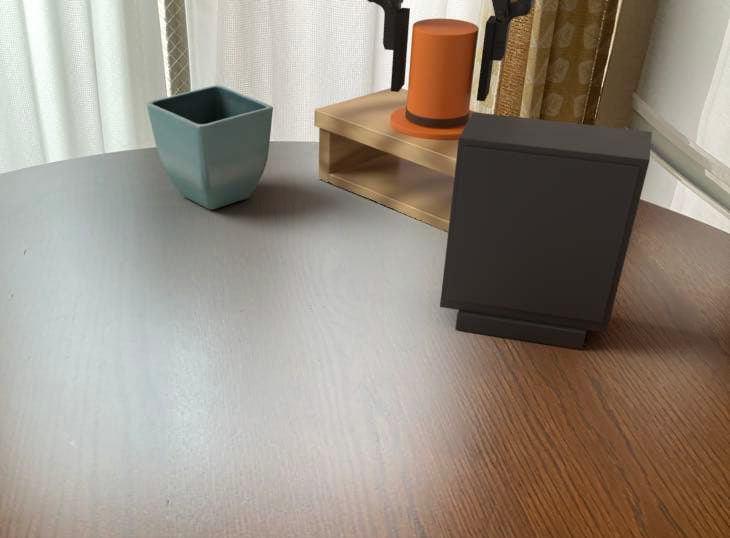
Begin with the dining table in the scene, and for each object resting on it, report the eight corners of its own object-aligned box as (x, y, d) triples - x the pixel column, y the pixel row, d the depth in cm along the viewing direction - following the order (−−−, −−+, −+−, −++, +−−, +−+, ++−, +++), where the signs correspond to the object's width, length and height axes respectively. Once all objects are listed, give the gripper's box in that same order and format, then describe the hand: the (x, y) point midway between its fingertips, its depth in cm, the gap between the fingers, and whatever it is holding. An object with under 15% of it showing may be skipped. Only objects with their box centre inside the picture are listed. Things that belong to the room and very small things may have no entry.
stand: (553, 212, 91) (566, 139, 87) (476, 247, 85) (486, 170, 80) (391, 153, 103) (395, 86, 98) (313, 179, 97) (314, 109, 92)
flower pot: (206, 223, 88) (199, 125, 82) (153, 196, 93) (143, 101, 87) (277, 200, 92) (275, 106, 86) (223, 175, 97) (218, 83, 91)
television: (601, 353, 71) (649, 162, 61) (436, 327, 74) (457, 139, 64) (607, 312, 76) (652, 129, 67) (452, 288, 79) (474, 109, 69)
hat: (456, 105, 94) (467, 11, 88) (499, 134, 88) (513, 35, 82) (375, 114, 91) (380, 17, 86) (413, 144, 85) (422, 42, 79)
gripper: (331, -223, 72) (325, 92, 87) (599, -212, 68) (543, 116, 83) (356, -226, 77) (346, 70, 92) (605, -217, 73) (552, 92, 88)
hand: (439, 91), depth 87 cm, fingers open, 7 cm apart
